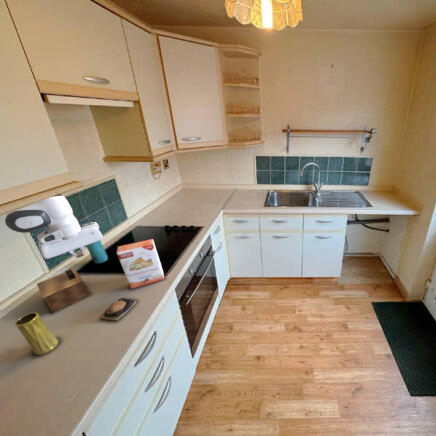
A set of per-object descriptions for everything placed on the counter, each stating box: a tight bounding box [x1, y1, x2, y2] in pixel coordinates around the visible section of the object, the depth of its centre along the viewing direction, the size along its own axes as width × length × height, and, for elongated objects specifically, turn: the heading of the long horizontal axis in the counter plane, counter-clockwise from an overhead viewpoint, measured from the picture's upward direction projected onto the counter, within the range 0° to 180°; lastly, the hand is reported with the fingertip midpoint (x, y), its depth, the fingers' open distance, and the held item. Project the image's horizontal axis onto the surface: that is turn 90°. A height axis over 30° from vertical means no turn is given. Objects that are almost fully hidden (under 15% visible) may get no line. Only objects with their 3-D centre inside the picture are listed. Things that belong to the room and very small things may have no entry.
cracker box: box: [116, 238, 165, 290], centre depth 107 cm, size 14×6×21 cm, turn 119°
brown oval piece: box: [101, 297, 137, 322], centre depth 95 cm, size 11×8×4 cm
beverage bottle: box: [85, 240, 109, 264], centre depth 121 cm, size 6×7×20 cm
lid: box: [36, 268, 84, 299], centre depth 98 cm, size 13×13×3 cm
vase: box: [14, 312, 59, 356], centre depth 78 cm, size 6×6×14 cm
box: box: [43, 280, 91, 314], centre depth 100 cm, size 13×13×8 cm
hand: (80, 256), depth 102 cm, fingers closed
